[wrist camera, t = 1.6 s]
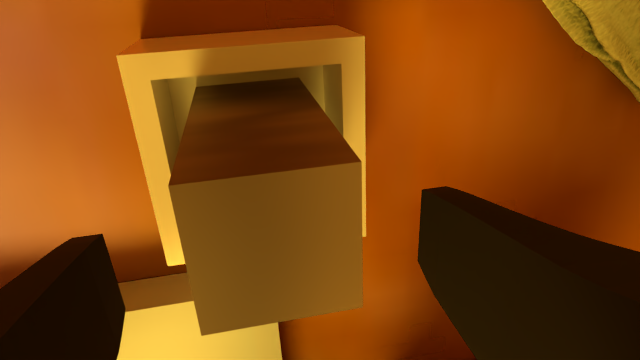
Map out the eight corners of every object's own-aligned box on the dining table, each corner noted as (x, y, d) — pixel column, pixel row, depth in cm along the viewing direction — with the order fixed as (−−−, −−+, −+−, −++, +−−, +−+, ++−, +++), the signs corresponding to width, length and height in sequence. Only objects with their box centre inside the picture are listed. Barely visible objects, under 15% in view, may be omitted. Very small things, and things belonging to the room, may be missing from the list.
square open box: (336, 24, 18) (364, 35, 14) (341, 192, 21) (365, 236, 17) (140, 39, 16) (116, 55, 13) (178, 214, 20) (167, 266, 16)
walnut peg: (298, 77, 17) (361, 161, 9) (305, 169, 19) (363, 307, 11) (196, 86, 17) (168, 185, 9) (212, 180, 18) (201, 335, 10)
